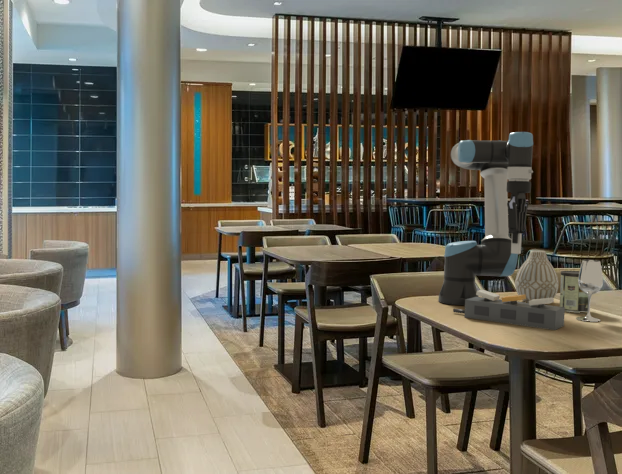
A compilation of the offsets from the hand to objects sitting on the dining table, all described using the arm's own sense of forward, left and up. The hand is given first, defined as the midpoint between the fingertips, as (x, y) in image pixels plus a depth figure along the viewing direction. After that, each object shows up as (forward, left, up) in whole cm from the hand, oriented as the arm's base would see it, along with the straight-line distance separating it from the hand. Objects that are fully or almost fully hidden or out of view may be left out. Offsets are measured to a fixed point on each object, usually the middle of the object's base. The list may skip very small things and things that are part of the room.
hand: (515, 253), depth 220 cm
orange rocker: (0, 0, -15) cm, 15 cm away
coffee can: (+9, +36, -23) cm, 43 cm away
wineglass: (+18, +21, -23) cm, 36 cm away
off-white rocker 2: (+9, 0, -15) cm, 17 cm away
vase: (-8, +45, -23) cm, 51 cm away
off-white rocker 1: (-9, 0, -15) cm, 17 cm away
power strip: (-3, 0, -22) cm, 23 cm away
